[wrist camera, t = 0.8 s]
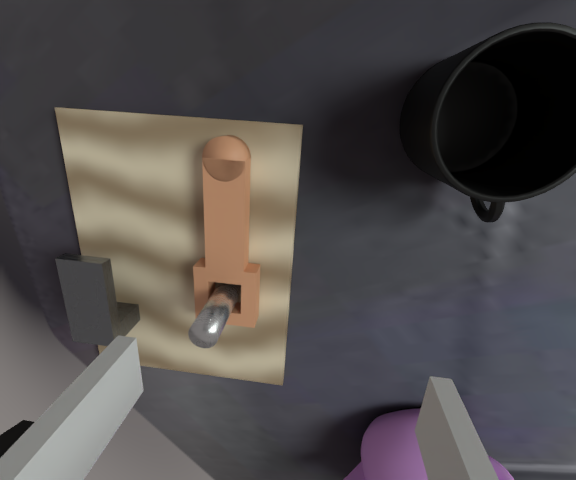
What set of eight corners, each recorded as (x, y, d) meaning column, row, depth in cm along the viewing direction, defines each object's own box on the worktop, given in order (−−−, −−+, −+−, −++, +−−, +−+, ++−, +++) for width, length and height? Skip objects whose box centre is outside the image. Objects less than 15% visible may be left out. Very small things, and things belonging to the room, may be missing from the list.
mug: (406, 214, 30) (437, 252, 21) (393, 71, 26) (424, 48, 17) (519, 195, 28) (602, 229, 19) (523, 39, 24) (629, -3, 16)
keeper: (90, 240, 33) (55, 258, 29) (131, 244, 33) (101, 263, 28) (102, 315, 36) (72, 341, 32) (140, 319, 36) (114, 347, 32)
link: (258, 316, 34) (254, 327, 32) (202, 309, 34) (195, 320, 32) (265, 137, 27) (260, 139, 25) (196, 132, 28) (187, 133, 26)
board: (64, 107, 30) (54, 107, 29) (303, 124, 28) (302, 125, 27) (106, 353, 40) (100, 359, 39) (283, 377, 38) (282, 385, 37)
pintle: (219, 275, 33) (187, 321, 25) (242, 277, 32) (217, 325, 25) (219, 295, 34) (188, 346, 26) (242, 298, 33) (217, 350, 26)
